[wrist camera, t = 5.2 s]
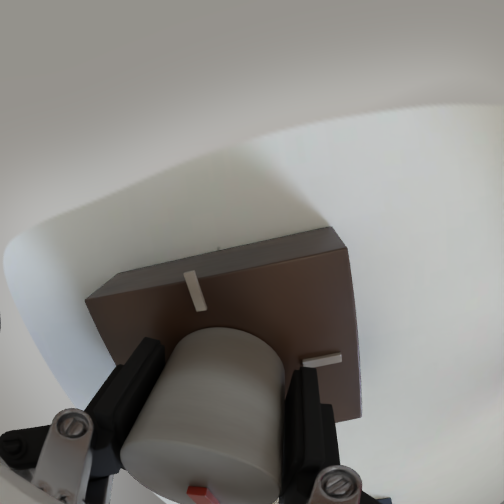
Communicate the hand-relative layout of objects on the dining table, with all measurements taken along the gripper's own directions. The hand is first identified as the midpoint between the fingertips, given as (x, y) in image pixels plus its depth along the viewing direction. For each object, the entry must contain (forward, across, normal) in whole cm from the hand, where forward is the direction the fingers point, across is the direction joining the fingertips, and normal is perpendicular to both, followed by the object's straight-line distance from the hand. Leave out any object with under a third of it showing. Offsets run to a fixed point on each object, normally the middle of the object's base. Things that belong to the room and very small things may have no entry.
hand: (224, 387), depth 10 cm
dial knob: (+1, 0, 0) cm, 1 cm away
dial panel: (+4, 0, 0) cm, 4 cm away
